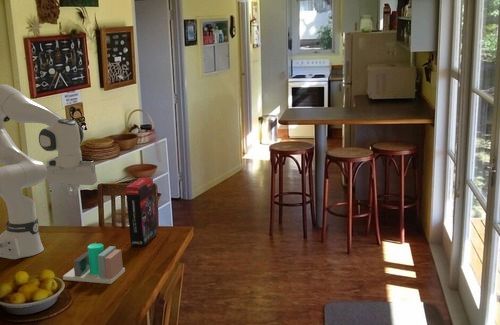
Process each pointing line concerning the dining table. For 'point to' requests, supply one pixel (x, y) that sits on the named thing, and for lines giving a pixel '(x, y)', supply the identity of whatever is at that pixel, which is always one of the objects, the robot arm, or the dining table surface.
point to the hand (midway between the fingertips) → (73, 194)
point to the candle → (94, 257)
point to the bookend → (81, 264)
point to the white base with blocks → (102, 268)
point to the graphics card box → (141, 211)
